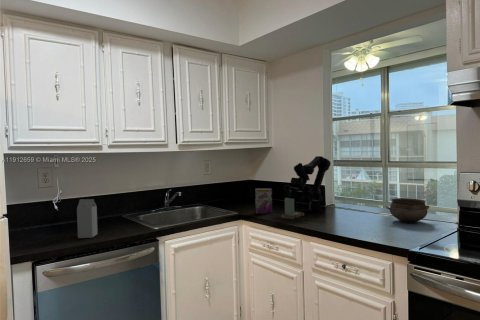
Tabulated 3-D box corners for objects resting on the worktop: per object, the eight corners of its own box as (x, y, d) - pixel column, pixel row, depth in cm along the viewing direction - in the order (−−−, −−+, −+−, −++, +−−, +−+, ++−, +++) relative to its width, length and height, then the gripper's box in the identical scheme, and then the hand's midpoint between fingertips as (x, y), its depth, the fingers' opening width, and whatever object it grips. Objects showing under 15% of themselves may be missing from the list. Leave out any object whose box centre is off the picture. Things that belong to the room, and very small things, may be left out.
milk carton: (83, 234, 167) (82, 198, 167) (97, 234, 168) (96, 198, 167) (77, 238, 160) (76, 200, 160) (92, 237, 161) (91, 200, 160)
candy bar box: (255, 214, 212) (254, 189, 211) (255, 212, 217) (255, 188, 216) (272, 214, 211) (271, 189, 210) (272, 212, 216) (271, 188, 215)
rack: (293, 215, 206) (293, 211, 205) (304, 216, 200) (304, 212, 200) (281, 218, 196) (281, 214, 196) (292, 220, 190) (292, 216, 190)
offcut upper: (291, 214, 203) (291, 212, 203) (300, 215, 199) (300, 213, 199) (288, 215, 200) (288, 213, 200) (296, 217, 196) (296, 214, 196)
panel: (286, 218, 198) (286, 197, 197) (294, 219, 194) (294, 198, 194) (284, 218, 196) (284, 198, 196) (292, 219, 193) (292, 199, 192)
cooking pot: (417, 217, 192) (417, 197, 192) (440, 224, 174) (440, 202, 173) (378, 219, 190) (378, 198, 189) (397, 226, 171) (397, 204, 170)
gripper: (284, 172, 208) (275, 191, 200) (310, 173, 195) (301, 193, 187) (291, 183, 214) (282, 202, 206) (316, 185, 201) (308, 205, 193)
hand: (292, 200), depth 198 cm, fingers open, 9 cm apart
